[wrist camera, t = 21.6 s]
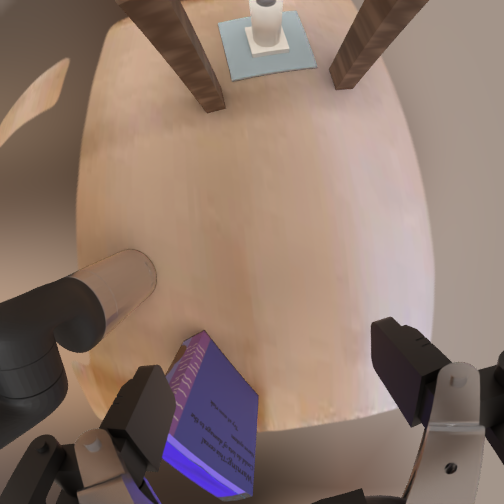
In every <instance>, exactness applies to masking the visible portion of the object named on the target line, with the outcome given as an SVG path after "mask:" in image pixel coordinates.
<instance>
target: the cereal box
mask: <svg viewBox="0 0 504 504" xmlns="http://www.w3.org/2000/svg"><path fill="white" fill-rule="evenodd" d="M165 377H166V379H167V381H168V383H169V385H170V387H171V389H172V392H173V394H174V396H175V400H176V410H175V413H174V416H173V420H172V423H171V427H170V430H169V434H168V437H167V441H166V445H165V448H164V452H163V455H162V459H163V460H165V461H166V462H167V463H168V464H170V465H171V466H172V467H174V468H175V469H176V470H178V471H179V472H180V473H182V474H183V475H184V476H186V477H187V478H188V479H190V480H191V481H193V482H194V483H196V484H197V485H199V486H200V487H202V488H203V489H205V490H206V491H208V492H209V493H211V494H212V495H214V496H216V497H218V498H219V499H221V500H222V501H233V500H240V499H245V498H247V497H251V496H252V493H253V478H254V463H255V447H256V431H257V414H258V395H257V393H256V392H255V391H254V390H253V389H252V388H251V387H250V385H249V384H248V383H247V382H246V381H245V380H244V378H243V377H242V376H241V375H240V374H239V372H238V371H237V370H236V369H235V368H234V366H233V365H232V364H231V363H230V362H229V360H228V359H227V358H226V357H225V355H224V354H223V353H222V352H221V350H220V349H219V348H218V347H217V345H216V344H215V343H214V342H213V340H212V339H211V338H210V336H209V335H208V334H207V333H206V331H205V330H203V331H202V332H200V333H198V334H196V335H194V336H193V337H191V338H189V339H187V340H185V341H184V342H183V344H182V346H181V347H180V349H179V351H178V353H177V355H176V357H175V358H174V360H173V362H172V364H171V366H170V368H169V369H168V371H167V373H166V375H165Z"/></svg>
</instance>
